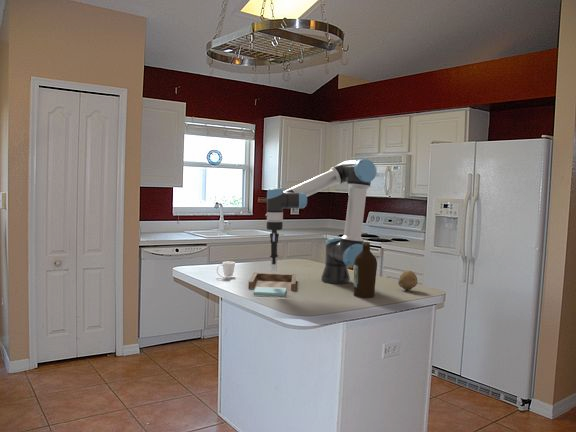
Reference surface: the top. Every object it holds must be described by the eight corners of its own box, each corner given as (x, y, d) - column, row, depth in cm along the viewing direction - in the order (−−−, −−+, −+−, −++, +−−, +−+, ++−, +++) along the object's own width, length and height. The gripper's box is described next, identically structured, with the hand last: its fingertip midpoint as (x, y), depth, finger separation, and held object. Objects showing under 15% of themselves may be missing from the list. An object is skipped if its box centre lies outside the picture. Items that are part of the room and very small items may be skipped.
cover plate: (286, 293, 241) (286, 287, 241) (284, 298, 229) (285, 293, 229) (256, 291, 241) (256, 286, 241) (253, 297, 229) (253, 291, 229)
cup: (236, 278, 270) (237, 263, 270) (218, 279, 266) (218, 263, 266) (232, 276, 277) (233, 261, 276) (214, 276, 272) (215, 261, 272)
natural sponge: (421, 291, 254) (422, 271, 254) (407, 293, 250) (408, 272, 249) (408, 288, 262) (409, 268, 261) (395, 289, 258) (396, 269, 257)
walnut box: (295, 282, 266) (296, 274, 266) (295, 292, 241) (295, 283, 241) (253, 280, 267) (253, 272, 267) (248, 290, 242) (248, 281, 242)
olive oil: (373, 293, 245) (376, 241, 243) (377, 298, 234) (380, 244, 233) (351, 292, 245) (353, 240, 243) (353, 297, 234) (356, 243, 233)
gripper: (267, 219, 249) (266, 268, 251) (265, 222, 236) (265, 273, 238) (283, 220, 249) (282, 268, 251) (282, 222, 236) (281, 273, 238)
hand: (273, 270), depth 244 cm, fingers closed
